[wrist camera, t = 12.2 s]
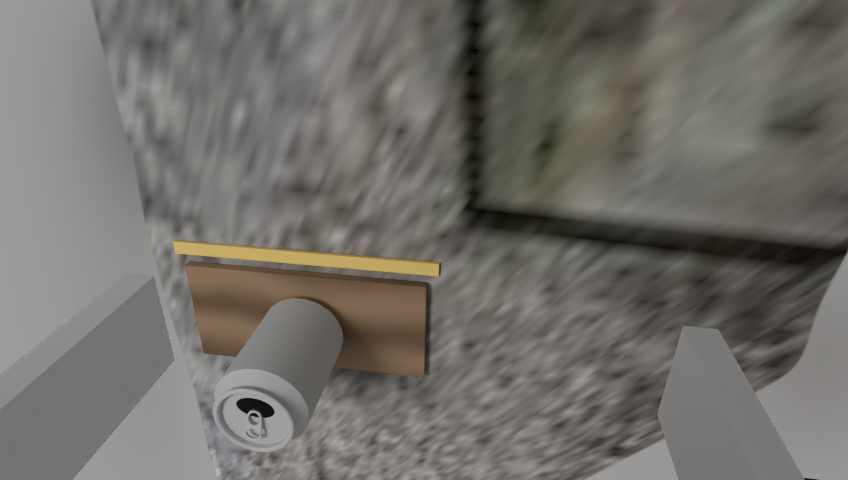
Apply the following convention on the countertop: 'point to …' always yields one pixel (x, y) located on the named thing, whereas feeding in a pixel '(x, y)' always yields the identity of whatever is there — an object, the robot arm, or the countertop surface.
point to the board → (340, 294)
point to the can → (278, 376)
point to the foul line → (307, 258)
